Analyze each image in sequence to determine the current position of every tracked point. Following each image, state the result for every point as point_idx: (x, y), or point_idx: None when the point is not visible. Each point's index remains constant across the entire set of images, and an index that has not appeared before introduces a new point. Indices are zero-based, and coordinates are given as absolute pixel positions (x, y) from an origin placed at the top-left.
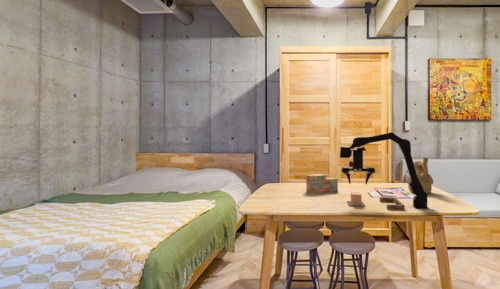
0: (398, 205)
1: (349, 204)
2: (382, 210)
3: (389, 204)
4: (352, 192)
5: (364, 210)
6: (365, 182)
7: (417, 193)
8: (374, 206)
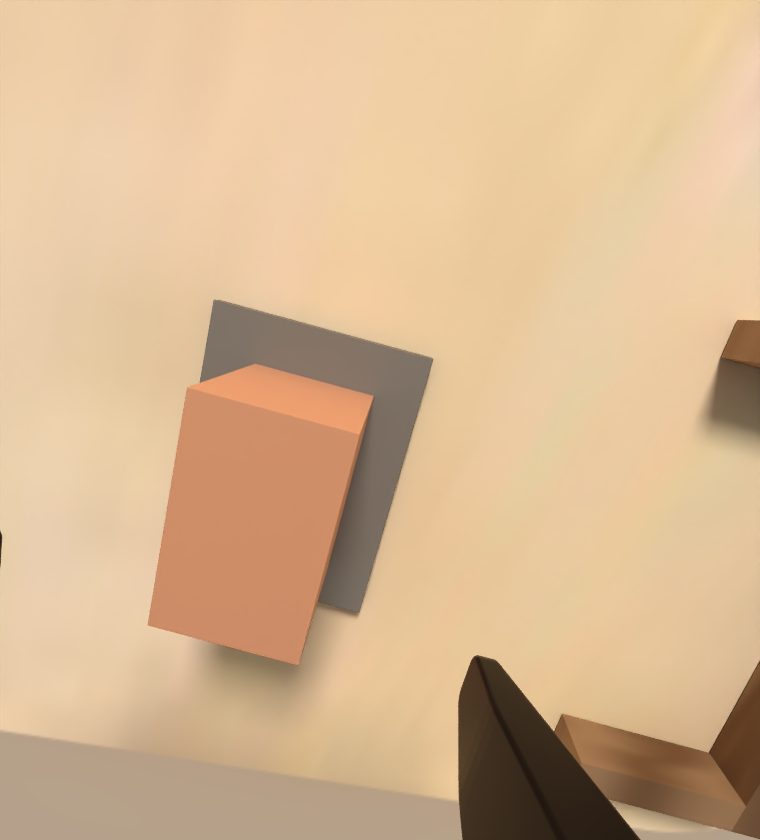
0: (694, 820)
1: None
2: None
3: (613, 772)
4: (203, 443)
5: (288, 731)
6: (484, 693)
7: None
8: (483, 595)
